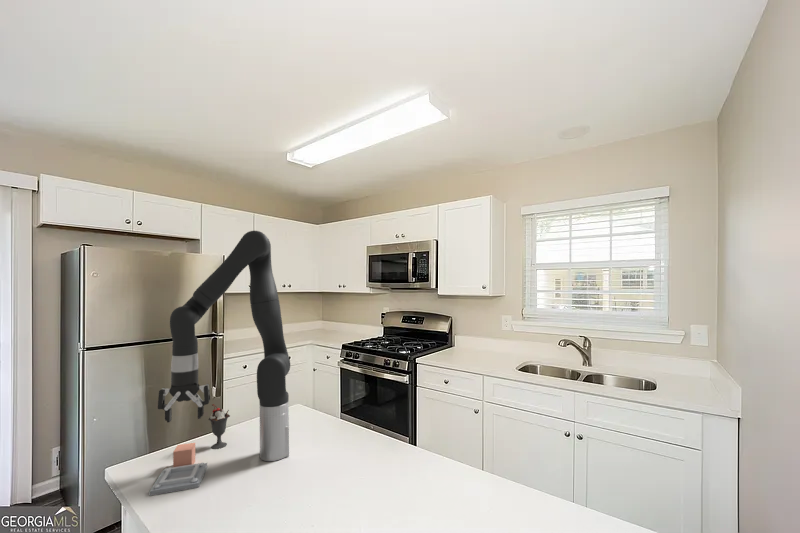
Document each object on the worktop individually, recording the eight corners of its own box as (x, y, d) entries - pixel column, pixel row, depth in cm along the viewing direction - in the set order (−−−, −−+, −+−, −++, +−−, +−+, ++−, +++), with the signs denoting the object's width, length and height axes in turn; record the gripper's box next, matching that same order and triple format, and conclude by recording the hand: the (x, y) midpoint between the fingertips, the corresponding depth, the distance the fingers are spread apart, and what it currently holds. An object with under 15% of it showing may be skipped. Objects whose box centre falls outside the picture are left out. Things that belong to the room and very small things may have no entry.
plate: (207, 466, 114) (207, 459, 115) (198, 487, 103) (198, 479, 103) (163, 473, 111) (163, 466, 111) (149, 495, 99) (149, 487, 99)
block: (195, 461, 118) (195, 442, 119) (191, 468, 114) (191, 449, 114) (177, 463, 117) (177, 444, 117) (173, 471, 112) (173, 451, 112)
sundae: (203, 448, 127) (203, 405, 128) (219, 440, 133) (219, 399, 134) (217, 451, 125) (217, 407, 125) (233, 443, 131) (233, 401, 131)
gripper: (211, 364, 122) (211, 413, 121) (163, 367, 118) (162, 418, 117) (207, 369, 115) (207, 421, 114) (155, 373, 111) (154, 427, 110)
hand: (184, 419), depth 116 cm, fingers open, 8 cm apart
